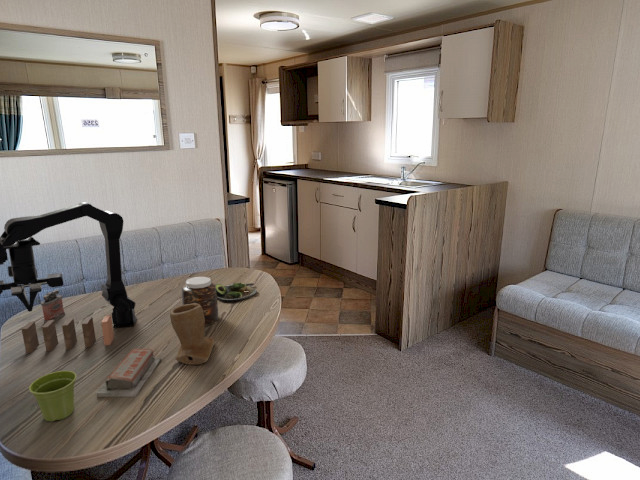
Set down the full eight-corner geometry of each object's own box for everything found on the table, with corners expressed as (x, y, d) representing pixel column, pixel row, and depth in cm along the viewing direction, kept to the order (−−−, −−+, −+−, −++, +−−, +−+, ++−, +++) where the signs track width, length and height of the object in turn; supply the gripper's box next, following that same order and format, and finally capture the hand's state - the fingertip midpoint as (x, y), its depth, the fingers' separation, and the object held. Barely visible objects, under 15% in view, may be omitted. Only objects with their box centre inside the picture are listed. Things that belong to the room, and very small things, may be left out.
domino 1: (39, 344, 132) (34, 321, 130) (32, 352, 127) (27, 328, 125) (33, 345, 132) (29, 322, 130) (26, 353, 127) (21, 329, 125)
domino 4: (95, 339, 135) (92, 316, 133) (90, 346, 131) (87, 323, 129) (90, 339, 135) (86, 317, 133) (85, 347, 130) (81, 323, 128)
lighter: (49, 323, 147) (45, 297, 144) (41, 322, 148) (36, 296, 145) (67, 314, 155) (63, 288, 152) (59, 313, 155) (55, 288, 153)
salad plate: (243, 282, 187) (242, 273, 186) (267, 293, 175) (267, 282, 174) (204, 294, 174) (203, 283, 173) (227, 306, 162) (226, 295, 161)
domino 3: (77, 341, 134) (73, 318, 132) (71, 348, 130) (67, 325, 128) (71, 341, 134) (67, 318, 132) (65, 349, 129) (61, 325, 127)
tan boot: (180, 342, 133) (175, 298, 129) (217, 341, 134) (214, 297, 130) (165, 368, 118) (160, 319, 115) (207, 367, 119) (203, 318, 115)
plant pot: (25, 421, 97) (19, 388, 95) (63, 398, 105) (57, 367, 103) (54, 431, 94) (48, 397, 91) (90, 406, 102) (85, 374, 100)
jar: (217, 311, 156) (214, 273, 152) (219, 324, 145) (216, 284, 142) (184, 315, 153) (180, 276, 149) (184, 329, 142) (180, 288, 138)
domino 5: (114, 337, 137) (110, 314, 135) (110, 344, 132) (106, 321, 130) (108, 338, 136) (105, 315, 134) (104, 345, 132) (101, 322, 130)
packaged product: (125, 346, 122) (160, 346, 122) (127, 361, 123) (161, 361, 123) (93, 381, 105) (133, 381, 105) (96, 398, 106) (135, 398, 106)
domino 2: (58, 343, 133) (54, 319, 131) (52, 350, 129) (47, 326, 127) (52, 343, 133) (48, 320, 131) (46, 351, 128) (41, 327, 126)
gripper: (59, 251, 134) (65, 297, 138) (-14, 259, 125) (-6, 308, 128) (60, 259, 125) (66, 308, 129) (-19, 268, 115) (-10, 321, 119)
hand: (30, 311), depth 126 cm, fingers closed
